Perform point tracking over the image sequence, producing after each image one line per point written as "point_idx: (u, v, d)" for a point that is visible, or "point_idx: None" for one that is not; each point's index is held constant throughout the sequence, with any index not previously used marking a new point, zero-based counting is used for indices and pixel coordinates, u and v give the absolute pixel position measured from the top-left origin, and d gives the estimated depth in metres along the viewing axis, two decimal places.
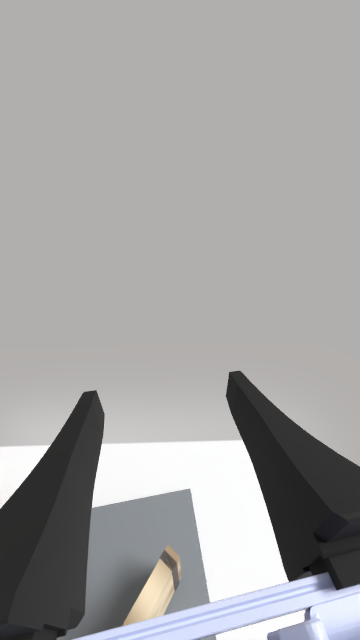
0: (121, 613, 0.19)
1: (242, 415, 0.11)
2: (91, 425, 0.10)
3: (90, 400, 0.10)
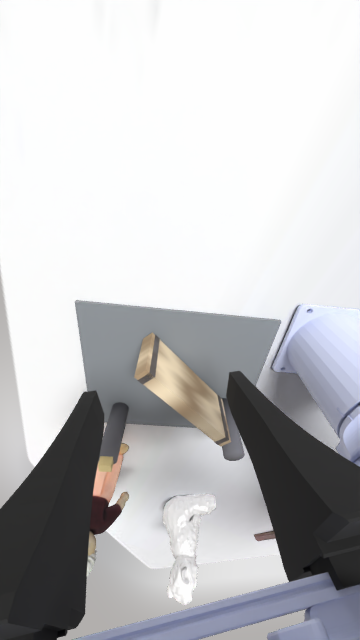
0: None
1: (242, 415, 0.11)
2: (91, 425, 0.10)
3: (90, 400, 0.10)
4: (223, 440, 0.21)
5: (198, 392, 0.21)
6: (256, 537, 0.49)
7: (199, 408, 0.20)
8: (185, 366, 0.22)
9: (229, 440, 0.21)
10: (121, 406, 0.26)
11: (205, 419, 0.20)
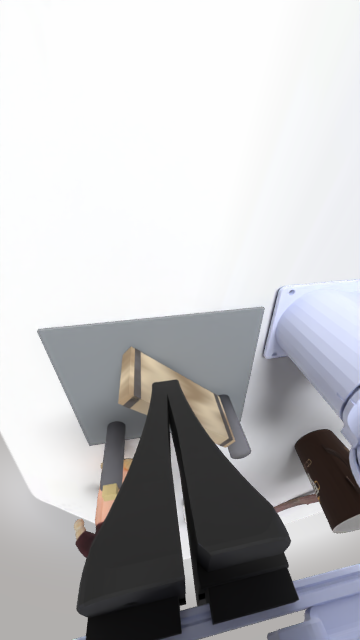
0: None
1: (172, 426, 0.10)
2: None
3: (164, 390, 0.11)
4: (227, 441, 0.20)
5: (192, 398, 0.20)
6: (275, 509, 0.51)
7: (196, 415, 0.19)
8: (174, 373, 0.21)
9: (233, 440, 0.20)
10: (116, 425, 0.25)
11: (204, 426, 0.19)
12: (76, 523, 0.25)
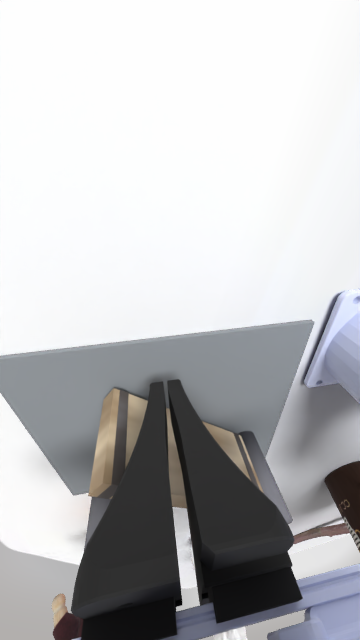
0: None
1: (174, 426, 0.10)
2: (165, 414, 0.10)
3: (162, 390, 0.11)
4: None
5: None
6: None
7: None
8: None
9: None
10: None
11: None
12: (55, 601, 0.19)
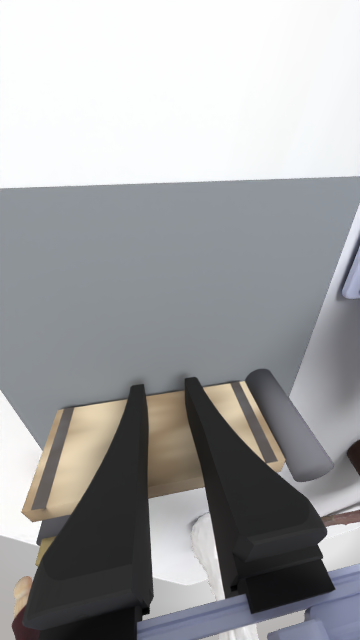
0: (138, 342, 0.12)
1: (193, 423, 0.11)
2: (144, 417, 0.10)
3: (141, 393, 0.11)
4: (271, 467, 0.11)
5: (174, 428, 0.12)
6: None
7: (178, 462, 0.11)
8: None
9: (280, 459, 0.11)
10: None
11: (197, 474, 0.10)
12: (17, 586, 0.15)
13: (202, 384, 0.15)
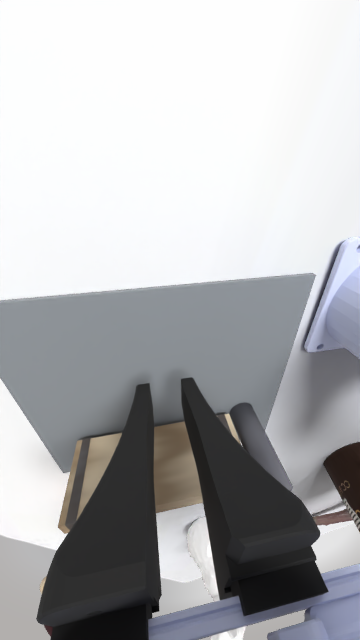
0: None
1: (189, 424, 0.11)
2: (150, 416, 0.10)
3: (147, 392, 0.11)
4: None
5: (171, 456, 0.16)
6: None
7: (175, 486, 0.14)
8: None
9: None
10: None
11: (189, 495, 0.14)
12: (43, 583, 0.18)
13: None
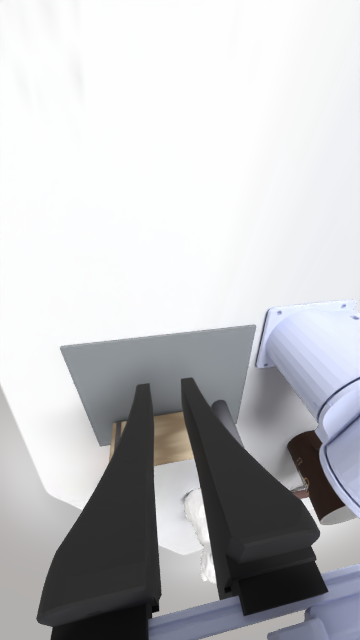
0: (155, 390, 0.25)
1: (189, 424, 0.11)
2: (150, 416, 0.10)
3: (147, 392, 0.11)
4: None
5: (172, 432, 0.25)
6: None
7: (174, 448, 0.24)
8: (155, 418, 0.27)
9: None
10: None
11: (183, 453, 0.23)
12: None
13: None
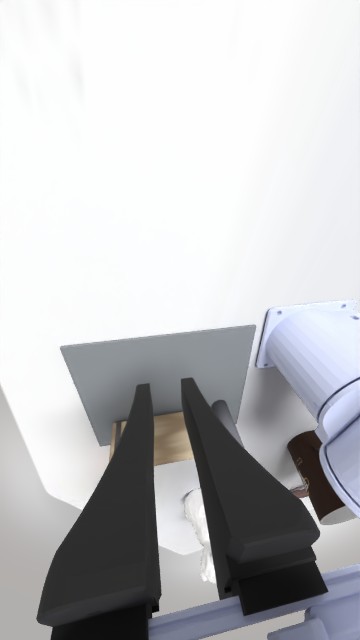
0: (155, 390, 0.25)
1: (189, 424, 0.11)
2: (150, 416, 0.10)
3: (147, 392, 0.11)
4: None
5: (172, 432, 0.25)
6: None
7: (174, 448, 0.24)
8: (155, 418, 0.27)
9: None
10: None
11: (183, 453, 0.23)
12: None
13: None
